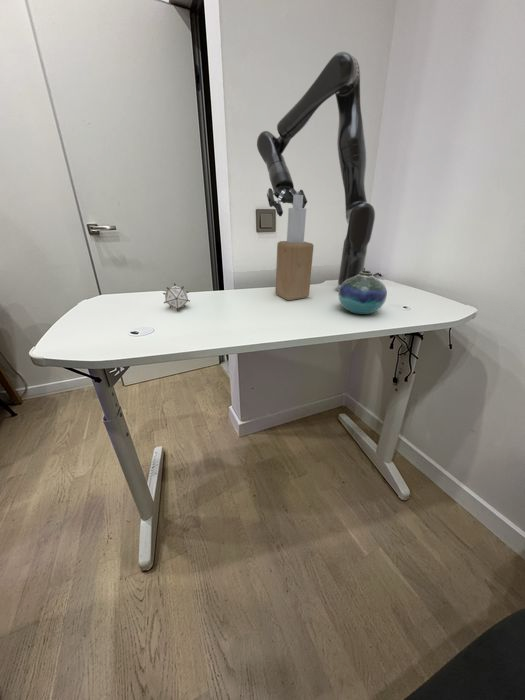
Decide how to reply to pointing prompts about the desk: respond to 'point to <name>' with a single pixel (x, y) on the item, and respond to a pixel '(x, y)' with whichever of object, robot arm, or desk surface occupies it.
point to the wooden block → (293, 269)
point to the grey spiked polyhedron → (176, 297)
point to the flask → (296, 221)
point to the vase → (362, 293)
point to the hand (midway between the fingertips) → (292, 214)
